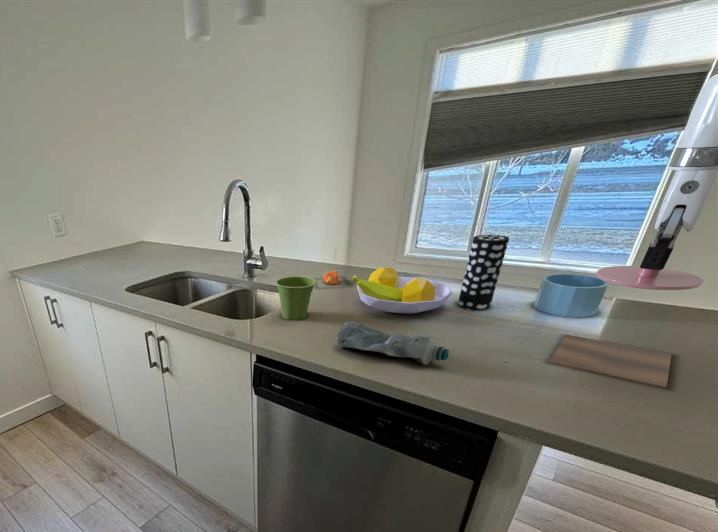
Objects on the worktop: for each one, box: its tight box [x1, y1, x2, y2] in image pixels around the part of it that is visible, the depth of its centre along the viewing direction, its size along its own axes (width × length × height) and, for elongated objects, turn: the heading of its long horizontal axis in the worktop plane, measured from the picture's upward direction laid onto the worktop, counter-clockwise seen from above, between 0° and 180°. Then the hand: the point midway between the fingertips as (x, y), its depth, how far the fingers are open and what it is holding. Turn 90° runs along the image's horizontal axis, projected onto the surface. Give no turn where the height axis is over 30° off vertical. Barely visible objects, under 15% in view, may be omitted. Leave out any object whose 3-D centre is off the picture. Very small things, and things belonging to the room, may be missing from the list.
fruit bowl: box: [352, 266, 454, 315], centre depth 123 cm, size 28×27×11 cm
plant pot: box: [275, 275, 317, 321], centre depth 123 cm, size 12×12×11 cm
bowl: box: [533, 273, 610, 318], centre depth 111 cm, size 14×14×8 cm
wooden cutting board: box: [548, 334, 673, 389], centre depth 88 cm, size 18×18×1 cm
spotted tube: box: [457, 234, 510, 312], centre depth 116 cm, size 8×8×20 cm
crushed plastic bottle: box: [337, 320, 450, 366], centre depth 97 cm, size 13×7×25 cm
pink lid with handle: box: [595, 237, 704, 291], centre depth 78 cm, size 15×15×8 cm
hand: (652, 265), depth 78 cm, fingers closed on pink lid with handle, 2 cm apart
